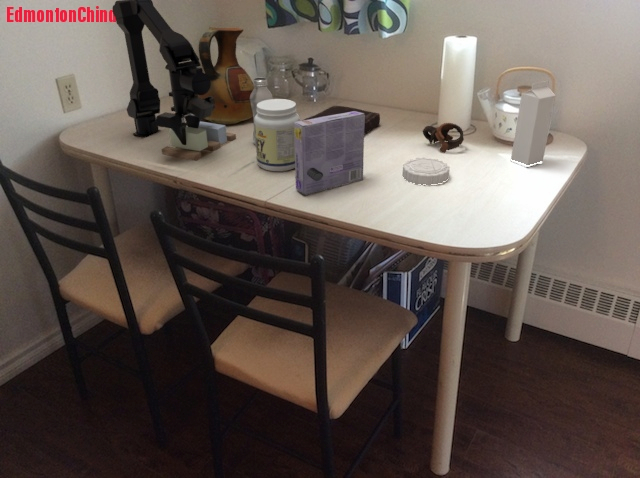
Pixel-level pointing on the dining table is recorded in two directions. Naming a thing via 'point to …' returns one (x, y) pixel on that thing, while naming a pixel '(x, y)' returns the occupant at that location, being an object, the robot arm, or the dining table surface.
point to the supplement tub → (275, 134)
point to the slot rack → (196, 154)
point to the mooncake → (425, 171)
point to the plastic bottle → (259, 97)
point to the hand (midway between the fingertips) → (189, 142)
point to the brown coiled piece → (443, 136)
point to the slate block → (214, 132)
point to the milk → (533, 124)
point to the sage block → (191, 139)
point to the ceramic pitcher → (226, 77)
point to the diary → (370, 117)
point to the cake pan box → (329, 151)
